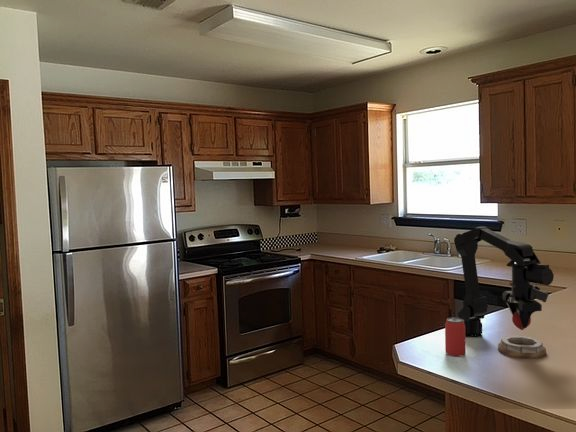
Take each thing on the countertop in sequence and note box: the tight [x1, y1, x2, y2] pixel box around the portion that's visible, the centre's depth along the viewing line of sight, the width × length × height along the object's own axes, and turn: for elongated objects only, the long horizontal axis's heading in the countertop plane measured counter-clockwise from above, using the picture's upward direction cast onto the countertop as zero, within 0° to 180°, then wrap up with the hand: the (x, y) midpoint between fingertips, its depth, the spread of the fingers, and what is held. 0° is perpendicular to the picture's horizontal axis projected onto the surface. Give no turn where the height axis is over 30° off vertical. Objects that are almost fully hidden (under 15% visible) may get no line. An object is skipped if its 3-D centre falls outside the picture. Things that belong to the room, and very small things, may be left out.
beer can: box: [444, 317, 467, 357], centre depth 168 cm, size 7×7×12 cm
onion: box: [511, 311, 532, 331], centre depth 168 cm, size 6×6×8 cm
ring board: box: [497, 335, 547, 360], centre depth 169 cm, size 15×15×4 cm
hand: (521, 325), depth 169 cm, fingers closed on onion, 6 cm apart
